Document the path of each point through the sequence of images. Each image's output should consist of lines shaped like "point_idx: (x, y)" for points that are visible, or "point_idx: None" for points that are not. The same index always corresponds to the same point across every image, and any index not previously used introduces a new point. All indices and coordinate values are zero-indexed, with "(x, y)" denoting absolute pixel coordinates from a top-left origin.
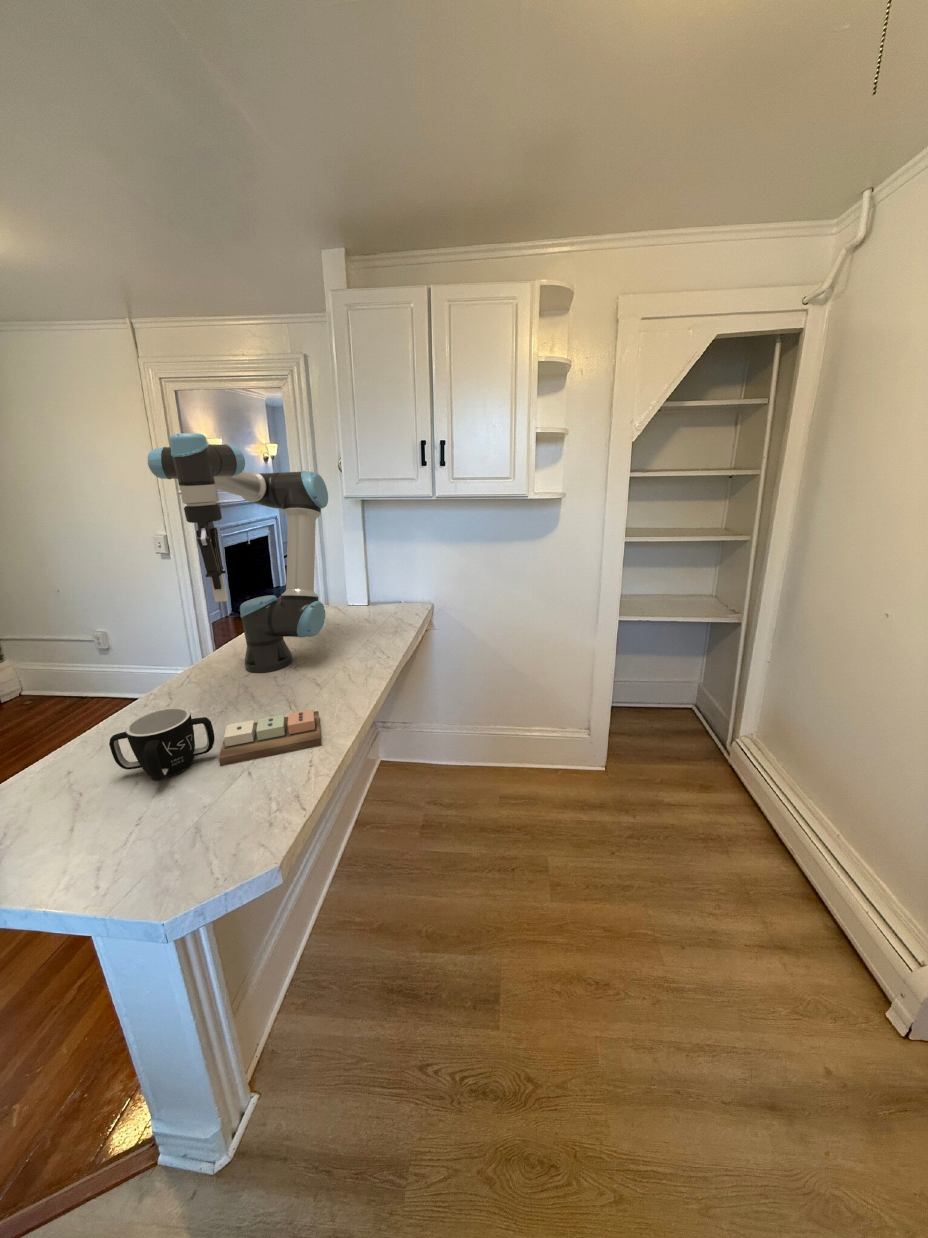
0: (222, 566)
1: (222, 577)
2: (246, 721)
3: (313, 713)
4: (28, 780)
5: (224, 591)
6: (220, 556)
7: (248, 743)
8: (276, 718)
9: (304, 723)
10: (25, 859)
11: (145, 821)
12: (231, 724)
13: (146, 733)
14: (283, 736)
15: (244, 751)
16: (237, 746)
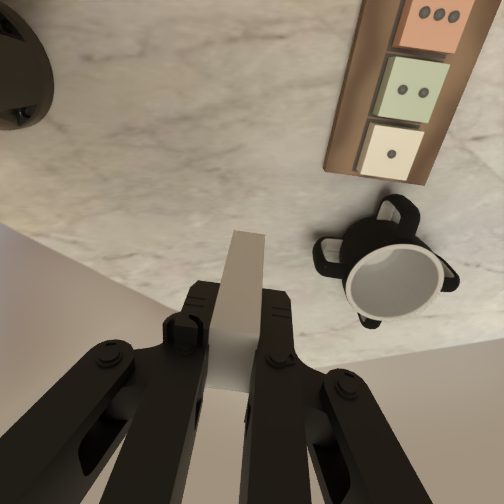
0: (110, 362)
1: (251, 320)
2: (370, 139)
3: None
4: None
5: (262, 264)
6: (21, 468)
7: None
8: (402, 76)
9: (469, 9)
10: (450, 339)
11: (478, 259)
12: (363, 167)
13: (352, 288)
14: None
15: (434, 145)
16: None
